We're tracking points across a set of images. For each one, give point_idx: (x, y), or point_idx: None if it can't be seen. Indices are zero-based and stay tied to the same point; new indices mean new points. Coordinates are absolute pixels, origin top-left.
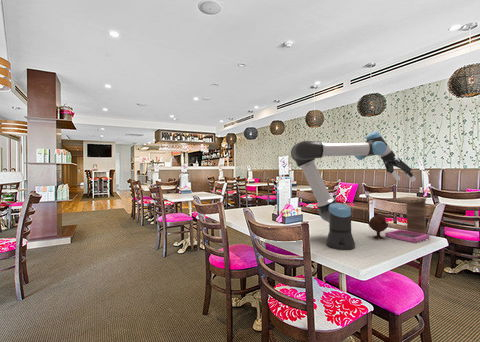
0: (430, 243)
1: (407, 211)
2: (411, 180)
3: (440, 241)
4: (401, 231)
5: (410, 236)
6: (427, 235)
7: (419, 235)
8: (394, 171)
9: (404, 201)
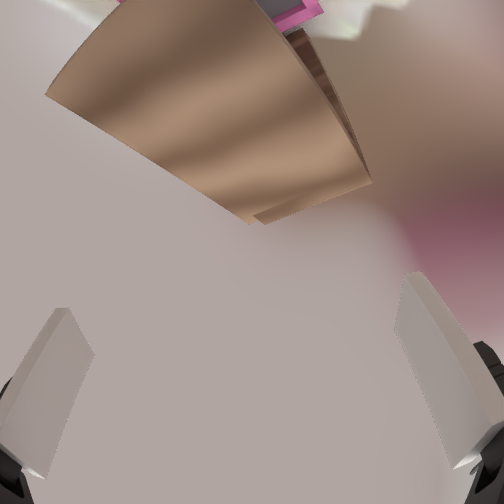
0: None
1: (330, 92)
2: (43, 327)
3: None
4: (304, 6)
5: None
6: None
7: None
8: (457, 461)
9: (76, 51)
